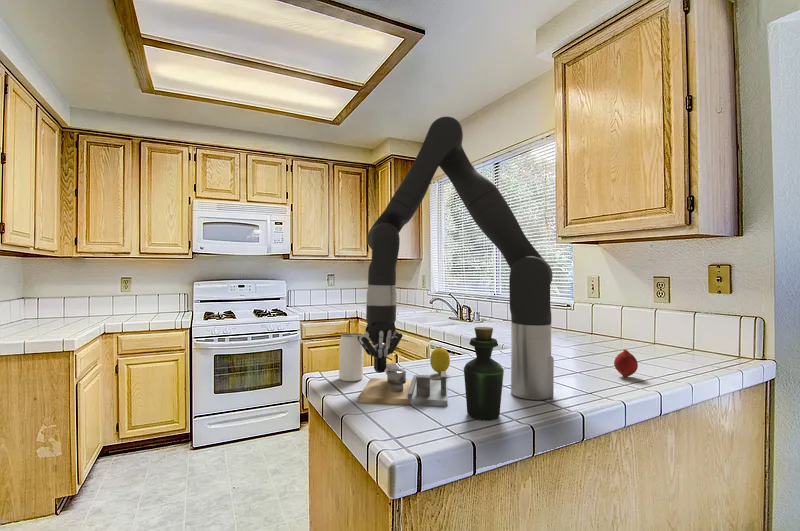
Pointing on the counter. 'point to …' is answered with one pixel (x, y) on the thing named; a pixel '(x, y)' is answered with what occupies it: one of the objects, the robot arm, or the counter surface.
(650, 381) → the counter surface
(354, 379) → the can
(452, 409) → the counter surface
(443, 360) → the lemon
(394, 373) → the swing bar
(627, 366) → the onion
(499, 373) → the potion bottle
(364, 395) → the board
